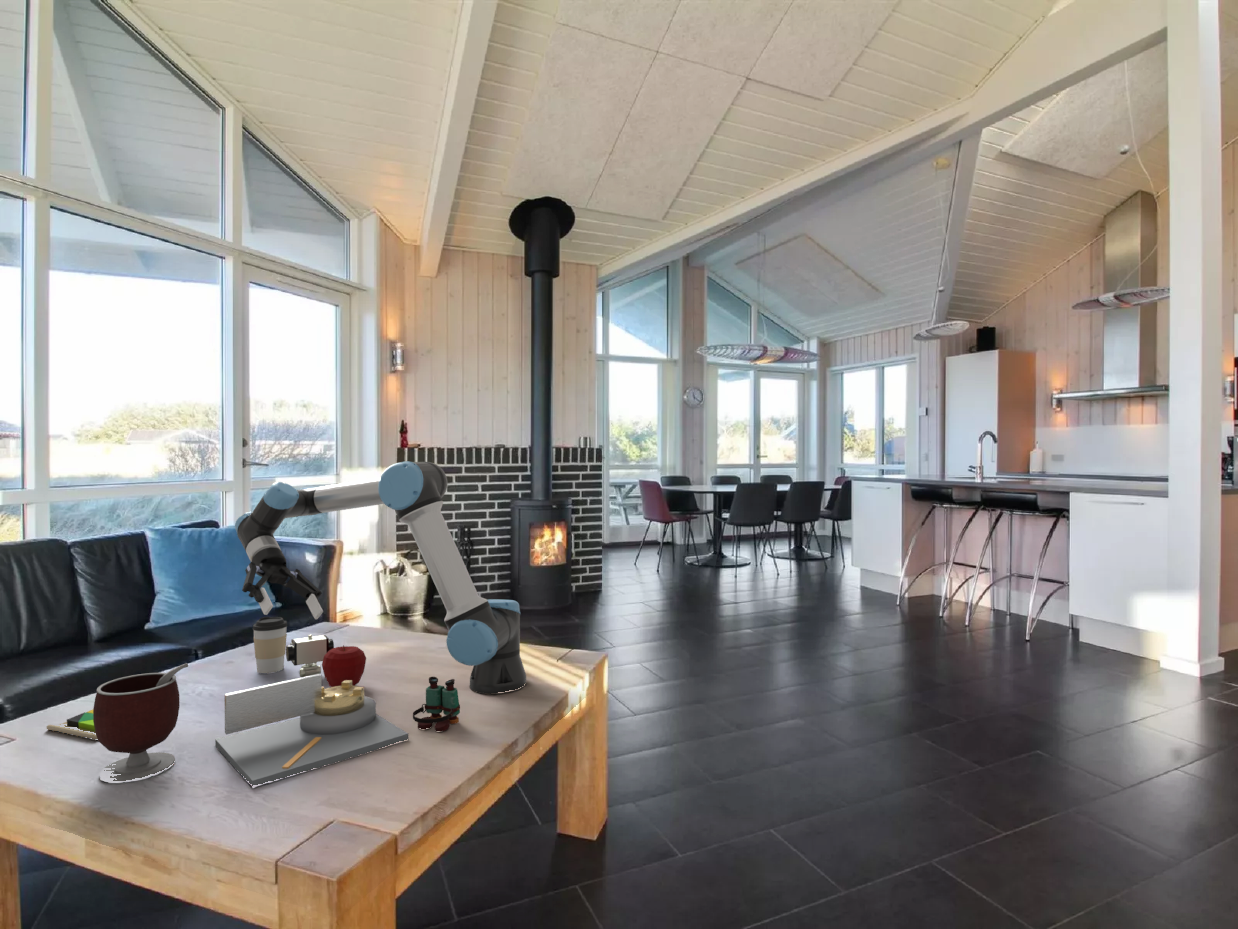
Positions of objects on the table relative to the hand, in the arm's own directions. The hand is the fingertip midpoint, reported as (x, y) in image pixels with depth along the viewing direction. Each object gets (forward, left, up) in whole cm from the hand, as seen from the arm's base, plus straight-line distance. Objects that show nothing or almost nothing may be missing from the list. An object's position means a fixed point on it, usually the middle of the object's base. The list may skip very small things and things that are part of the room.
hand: (294, 613), depth 164 cm
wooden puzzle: (+35, +20, -25) cm, 47 cm away
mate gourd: (+4, +34, -24) cm, 42 cm away
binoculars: (-38, -4, -24) cm, 45 cm away
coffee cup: (+33, -22, -24) cm, 47 cm away
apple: (+1, -17, -24) cm, 30 cm away
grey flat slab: (-18, +13, -24) cm, 33 cm away
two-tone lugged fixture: (-13, +12, -19) cm, 26 cm away
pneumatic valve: (+17, -21, -24) cm, 36 cm away
